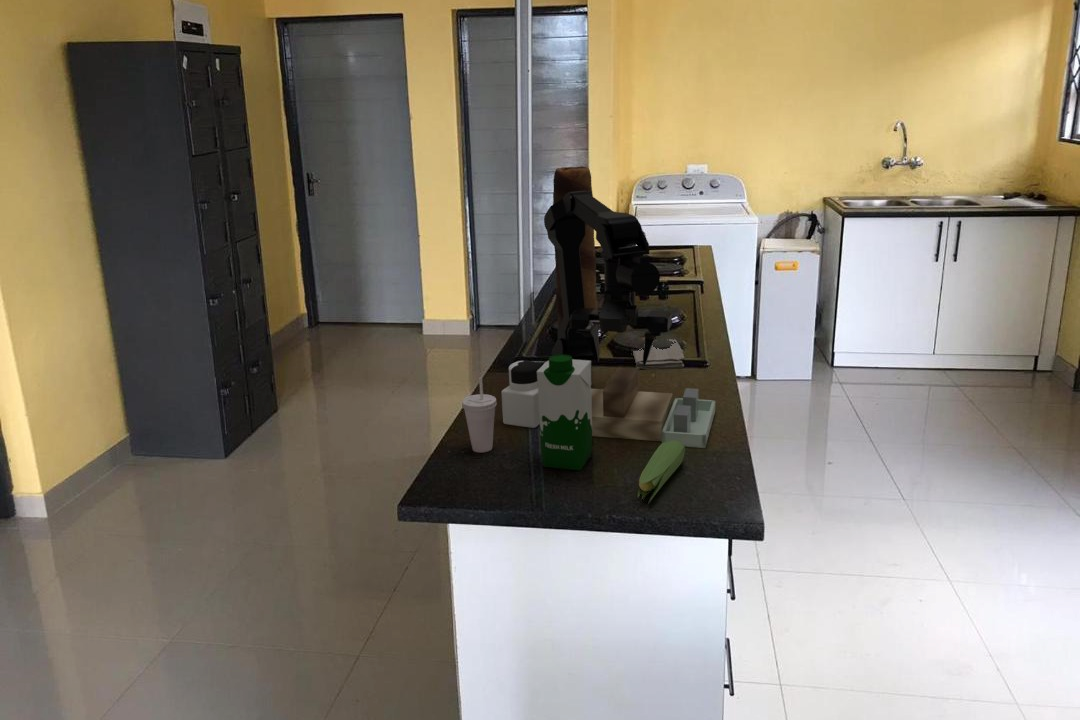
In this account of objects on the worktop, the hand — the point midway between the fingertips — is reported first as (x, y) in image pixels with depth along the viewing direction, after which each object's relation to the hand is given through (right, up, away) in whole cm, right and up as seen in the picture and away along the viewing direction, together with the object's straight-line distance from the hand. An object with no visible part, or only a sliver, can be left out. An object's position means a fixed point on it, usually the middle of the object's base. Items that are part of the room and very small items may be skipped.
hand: (620, 362), depth 167 cm
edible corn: (+4, -20, -21) cm, 29 cm away
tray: (+13, -12, 0) cm, 18 cm away
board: (+1, -12, +4) cm, 13 cm away
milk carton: (-11, -18, -12) cm, 24 cm away
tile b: (+10, -11, -4) cm, 15 cm away
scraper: (0, -8, +3) cm, 8 cm away
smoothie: (-26, -16, -5) cm, 31 cm away
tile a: (+13, -8, +4) cm, 16 cm away
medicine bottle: (-18, -12, +7) cm, 23 cm away
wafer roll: (-6, +3, +50) cm, 51 cm away
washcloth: (+13, +1, +42) cm, 44 cm away
